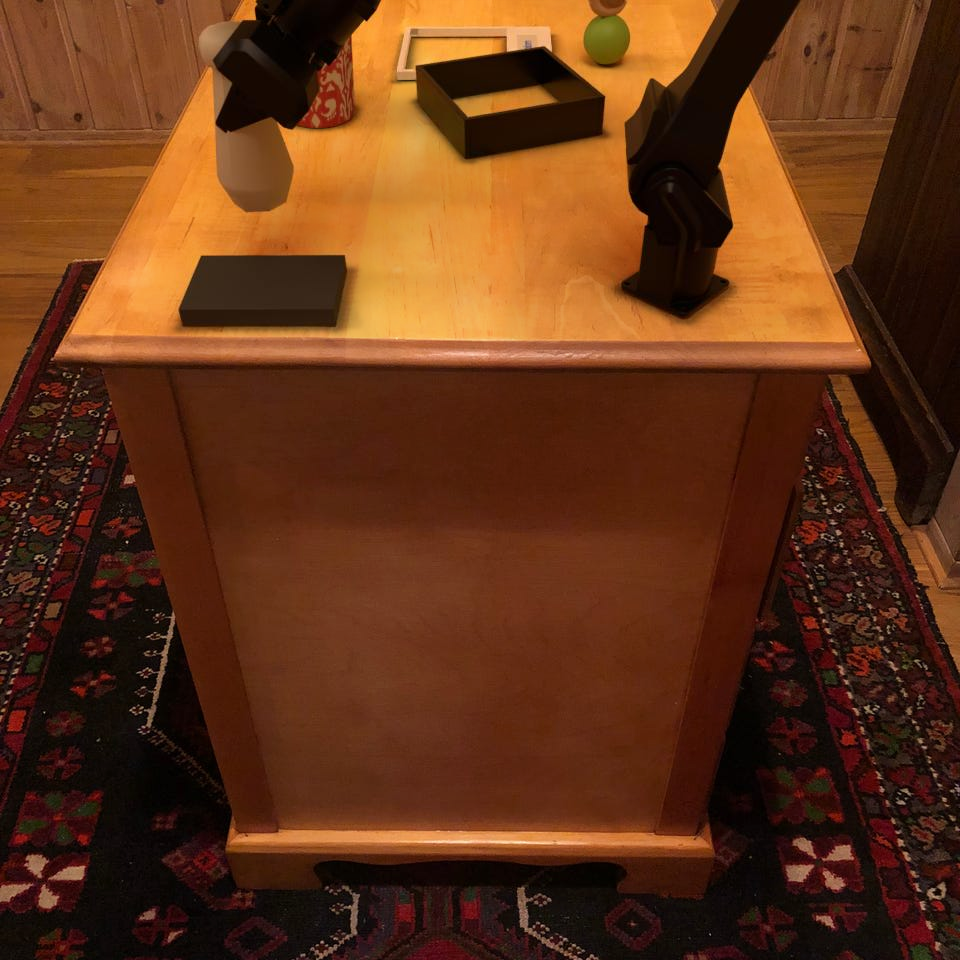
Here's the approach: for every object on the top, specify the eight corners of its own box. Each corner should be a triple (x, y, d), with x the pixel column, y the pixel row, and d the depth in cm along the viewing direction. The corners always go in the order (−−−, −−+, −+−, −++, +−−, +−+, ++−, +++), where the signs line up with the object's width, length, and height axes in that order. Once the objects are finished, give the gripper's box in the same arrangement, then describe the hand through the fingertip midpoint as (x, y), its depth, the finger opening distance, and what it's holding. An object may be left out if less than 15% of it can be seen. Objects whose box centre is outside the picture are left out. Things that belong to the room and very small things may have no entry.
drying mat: (336, 326, 74) (333, 308, 73) (182, 326, 74) (177, 309, 73) (347, 271, 80) (345, 254, 79) (204, 271, 80) (200, 255, 79)
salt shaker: (313, 196, 75) (286, 23, 66) (260, 225, 72) (224, 48, 63) (262, 176, 78) (230, 7, 69) (208, 204, 74) (167, 30, 65)
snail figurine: (566, 62, 113) (571, -50, 104) (608, 51, 115) (617, -59, 107) (594, 77, 110) (602, -38, 101) (637, 65, 112) (648, -48, 104)
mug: (358, 133, 99) (344, -6, 90) (272, 132, 99) (249, -6, 90) (373, 86, 108) (361, -45, 99) (294, 85, 109) (275, -45, 99)
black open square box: (602, 134, 98) (605, 96, 96) (465, 159, 94) (464, 120, 92) (543, 81, 109) (544, 45, 106) (417, 102, 105) (415, 65, 102)
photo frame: (554, 69, 108) (396, 69, 108) (553, 79, 109) (397, 79, 109) (549, 24, 118) (405, 25, 119) (549, 34, 119) (406, 34, 120)
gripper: (291, -178, 65) (174, -6, 74) (213, -113, 52) (81, 89, 60) (412, -51, 70) (289, 97, 78) (371, 39, 57) (228, 206, 65)
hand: (227, 117), depth 70 cm, fingers closed on salt shaker, 3 cm apart
